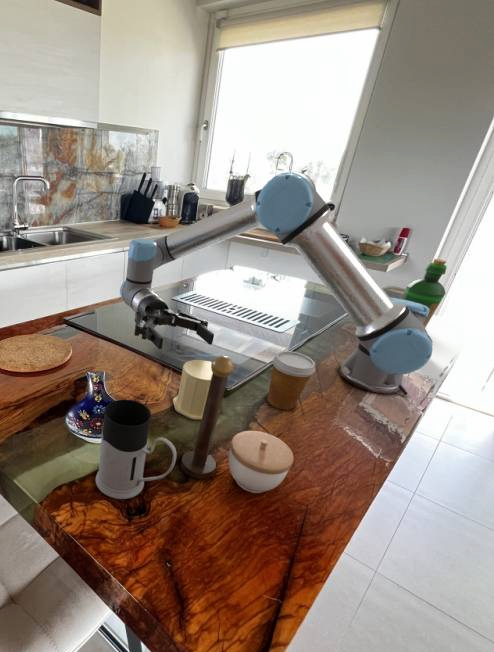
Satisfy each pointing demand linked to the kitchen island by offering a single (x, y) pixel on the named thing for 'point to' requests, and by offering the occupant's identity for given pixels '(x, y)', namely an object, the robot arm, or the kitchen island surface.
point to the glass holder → (126, 449)
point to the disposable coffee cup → (289, 378)
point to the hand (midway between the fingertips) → (187, 341)
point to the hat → (193, 389)
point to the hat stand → (208, 422)
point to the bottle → (428, 288)
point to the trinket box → (259, 461)
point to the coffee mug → (394, 291)
